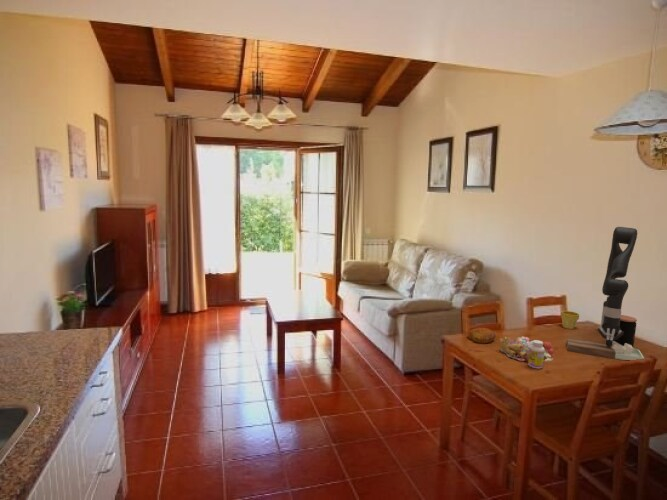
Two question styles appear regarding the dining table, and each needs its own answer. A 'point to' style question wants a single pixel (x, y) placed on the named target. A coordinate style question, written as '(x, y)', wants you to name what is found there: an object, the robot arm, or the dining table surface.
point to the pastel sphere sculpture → (523, 349)
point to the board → (590, 348)
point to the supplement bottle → (536, 354)
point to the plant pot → (569, 319)
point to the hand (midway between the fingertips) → (608, 346)
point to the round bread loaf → (481, 335)
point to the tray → (633, 356)
